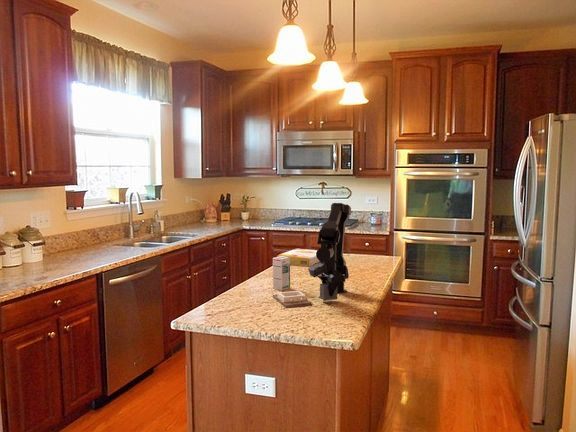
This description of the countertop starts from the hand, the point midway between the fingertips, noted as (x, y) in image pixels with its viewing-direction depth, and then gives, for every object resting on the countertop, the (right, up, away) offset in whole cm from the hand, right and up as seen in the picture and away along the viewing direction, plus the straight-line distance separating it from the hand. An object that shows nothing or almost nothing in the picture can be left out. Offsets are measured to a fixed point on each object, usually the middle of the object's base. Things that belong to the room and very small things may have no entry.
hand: (328, 294), depth 191 cm
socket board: (-15, -3, +1) cm, 16 cm away
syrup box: (-20, -1, +22) cm, 29 cm away
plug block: (0, -2, 0) cm, 2 cm away
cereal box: (-8, +5, +87) cm, 87 cm away
